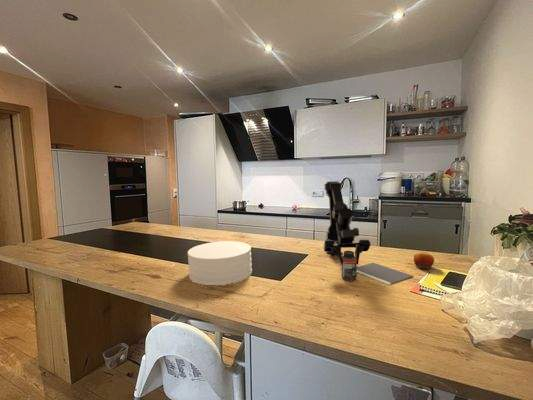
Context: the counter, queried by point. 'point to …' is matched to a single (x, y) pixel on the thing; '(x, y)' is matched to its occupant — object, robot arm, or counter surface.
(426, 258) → the fruit
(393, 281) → the mat
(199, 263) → the plate stack
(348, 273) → the supplement bottle
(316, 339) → the counter surface
